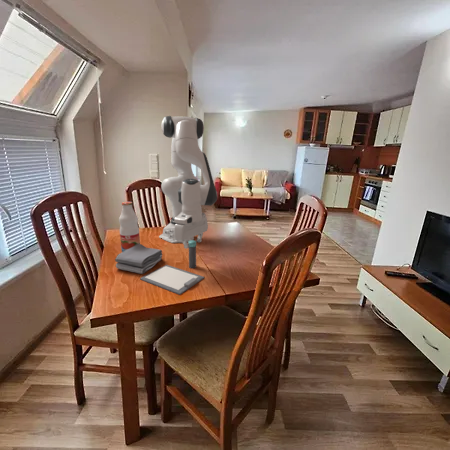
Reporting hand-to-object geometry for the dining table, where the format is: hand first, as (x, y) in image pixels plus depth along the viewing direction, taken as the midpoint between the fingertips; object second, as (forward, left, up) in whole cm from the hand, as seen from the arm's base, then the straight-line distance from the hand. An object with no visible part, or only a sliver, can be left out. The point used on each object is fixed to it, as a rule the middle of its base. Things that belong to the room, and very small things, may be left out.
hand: (193, 244), depth 115 cm
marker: (-1, 0, -11) cm, 11 cm away
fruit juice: (-37, -6, -12) cm, 39 cm away
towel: (-23, -11, -12) cm, 28 cm away
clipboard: (-1, -14, -11) cm, 18 cm away
